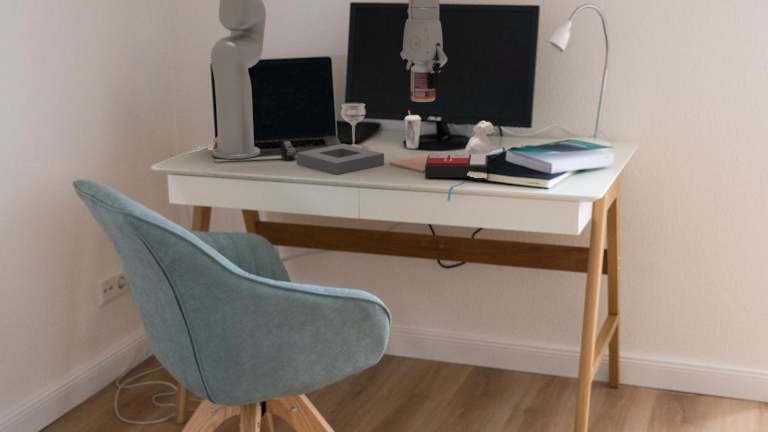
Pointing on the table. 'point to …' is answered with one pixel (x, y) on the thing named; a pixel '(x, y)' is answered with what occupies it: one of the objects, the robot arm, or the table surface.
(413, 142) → the milkshake
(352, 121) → the wineglass
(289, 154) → the wristwatch
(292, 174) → the table surface
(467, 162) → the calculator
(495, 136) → the table surface
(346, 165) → the block
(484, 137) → the bust
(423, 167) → the tile
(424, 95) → the pill bottle
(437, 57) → the robot arm
